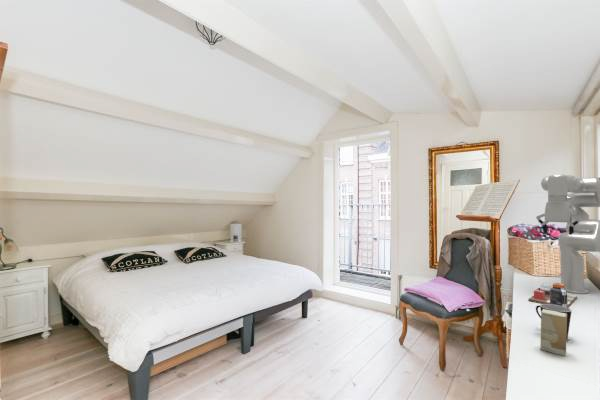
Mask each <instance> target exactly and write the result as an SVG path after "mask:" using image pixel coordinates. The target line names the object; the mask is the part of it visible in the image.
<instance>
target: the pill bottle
mask: <svg viewBox="0 0 600 400" xmlns="http://www.w3.org/2000/svg"><path fill="white" fill-rule="evenodd" d="M567 294H568V292H567V291H566V290H565V289H564V284H561V282H560V283H557V282H553V283H552V287H551V288H550V304H553V305H559V306H563V307H567Z"/></svg>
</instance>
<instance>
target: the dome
mask: <svg viewBox="0 0 600 400" xmlns="http://www.w3.org/2000/svg"><path fill="white" fill-rule="evenodd" d="M539 287H540V290H544V291H550V288H552V286H551V284H549V283H547V282H543V283H541V284H540V286H539Z"/></svg>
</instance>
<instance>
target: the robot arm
mask: <svg viewBox="0 0 600 400" xmlns="http://www.w3.org/2000/svg"><path fill="white" fill-rule="evenodd" d="M540 186H541V188H542V189H543V191H547V202H546V203H545V206H544V207H545V208H544V213H541V214H539V215H537V216H536V217H535V218H536V220H537V221H538V223H539V224H541V226H542V232H543V234H548V225H547V224H548V223H566V226H565V231H566V232H565V231H564V232H562V233H560V234H559V235H558V237H557V238H558V239H557V241H558V242H557V243H558V245H559V250H560V284H564V289H565V290H566V291H567V293H569V294H579V295H580V294H583V295H585V294H586V295H587V294H588V293H589V290H588V289H585V260H584V257H583V255H582V254H581V253H580V252H591V253H592V252H594V253H596V252H599V251H600V219H595V218H594V219H593V218H590V215H589V214H588V212H587V211H586V210H584V209H582V208H600V178H598V177H596V176H592V177H588V176H587V177H575V176H574V175H570V174H567V175H566V174H551V175H548V176H544V177H543V178H542V179H541V183H540ZM568 193H569V194H568ZM541 218H544V221H543V220H542V219H541Z"/></svg>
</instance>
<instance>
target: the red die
mask: <svg viewBox="0 0 600 400" xmlns="http://www.w3.org/2000/svg"><path fill="white" fill-rule="evenodd" d="M533 296H534V299H540V300H544V299H545V291H541V290H536V289H534V291H533Z"/></svg>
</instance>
